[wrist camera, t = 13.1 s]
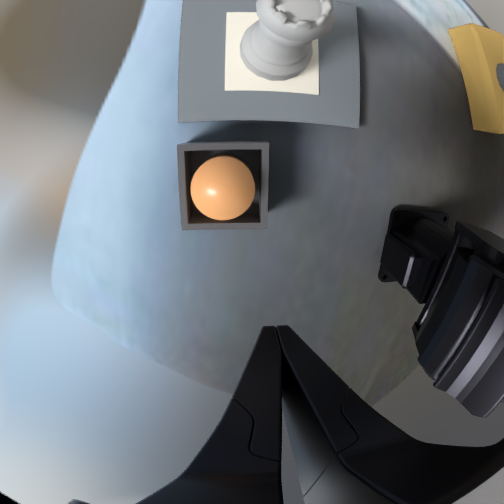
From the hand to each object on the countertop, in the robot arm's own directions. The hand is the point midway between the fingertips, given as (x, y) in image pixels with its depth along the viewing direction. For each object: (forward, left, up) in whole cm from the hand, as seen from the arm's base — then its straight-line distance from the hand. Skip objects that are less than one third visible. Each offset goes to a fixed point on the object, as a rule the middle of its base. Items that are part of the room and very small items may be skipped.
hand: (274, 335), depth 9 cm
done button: (+2, -3, -11) cm, 11 cm away
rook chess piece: (-1, -12, -11) cm, 16 cm away
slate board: (-1, -12, -12) cm, 17 cm away
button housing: (+2, -3, -12) cm, 13 cm away
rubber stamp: (-21, -15, -12) cm, 29 cm away
